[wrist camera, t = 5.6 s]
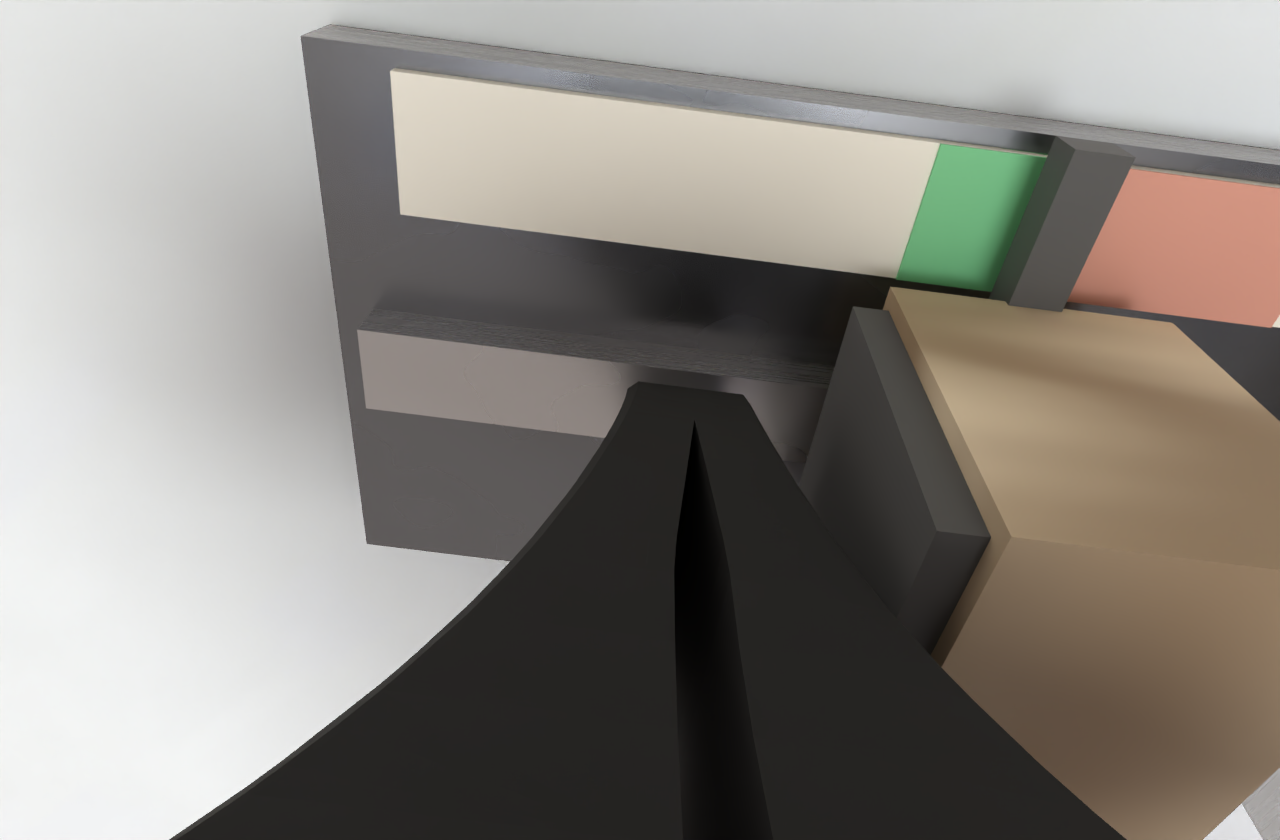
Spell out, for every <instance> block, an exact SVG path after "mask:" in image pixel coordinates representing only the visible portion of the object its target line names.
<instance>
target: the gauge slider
mask: <svg viewBox="0 0 1280 840" xmlns="http://www.w3.org/2000/svg"><path fill="white" fill-rule="evenodd" d="M1135 158H1136V157H1134V156H1133V155H1131V154H1130V153H1128V152H1126V151H1125V150H1123V149H1121V148H1120V147H1118V146H1117V145H1115V144H1113V143H1108V142H1100V141H1092V140H1085V139H1077V138H1070V137H1062V136H1055V139H1054V141H1053V144H1052V146H1051V149H1050V151H1049V153H1048V156H1047V158H1046V161H1045V163H1044V166H1043V168H1042V170H1041V173H1040V175H1039V178H1038V180H1037V183H1036V185H1035V187H1034V190H1033V192H1032V195H1031V197H1030V200H1029V202H1028V204H1027V207H1026V209H1025V212H1024V214H1023V217H1022V219H1021V221H1020V224H1019V226H1018V229H1017V231H1016V234H1015V236H1014V238H1013V241H1012V243H1011V246H1010V248H1009V251H1008V253H1007V255H1006V258H1005V260H1004V263H1003V265H1002V268H1001V270H1000V272H999V275H998V277H997V280H996V282H995V285H994V287H993V289H992V292H991V294H990V297H989V299H983V298H976V297H968V296H960V295H952V294H944V293H937V292H929V291H921V290H913V289H905V288H898V287H890V289H889V292H888V295H887V298H886V301H885V304H884V307H883V310H879V309H871V308H863V307H855V306H853V308H852V311H851V314H850V318H849V321H848V324H847V328H846V331H845V334H844V338H843V341H842V344H841V348H840V351H839V354H838V358H837V361H836V364H835V367H834V371H833V374H832V377H831V381H830V384H829V387H828V391H827V394H826V397H825V401H824V404H823V407H822V411H821V414H820V417H819V421H818V424H817V427H816V431H815V434H814V437H813V441H812V444H811V447H810V451H809V454H808V457H807V460H806V464H805V467H804V470H803V474H802V477H801V480H800V484H799V488H800V489H801V491H802V492H803V494H804V495H805V497H806V498H807V500H808V501H809V503H810V504H811V506H812V507H813V509H814V510H815V512H816V513H817V515H818V516H819V518H820V519H821V521H822V522H823V524H824V525H825V526H826V528H827V529H828V531H829V532H830V533H831V535H832V536H833V538H834V539H835V540H836V542H837V543H838V545H839V546H840V547H841V549H842V550H843V551H844V553H845V554H846V555H847V557H848V558H849V559H850V561H851V562H852V563H853V565H854V566H855V567H856V568H857V570H858V571H859V572H860V574H861V575H862V576H863V578H864V579H865V580H866V582H867V583H868V584H869V585H870V587H871V588H872V589H873V590H874V592H875V593H876V594H877V595H878V597H879V598H880V599H881V600H882V602H883V603H884V604H885V605H886V606H887V608H888V609H889V610H890V611H891V612H892V613H893V615H894V616H895V617H896V618H897V619H898V620H899V621H900V622H901V623H902V625H903V626H904V627H905V628H906V629H907V630H908V631H909V632H910V633H911V634H912V636H913V637H914V638H915V639H916V640H917V641H918V642H919V643H920V644H921V646H922V647H923V648H924V649H925V650H926V651H927V652H928V653H929V654H930V656H931V657H932V658H933V659H934V660H935V661H936V662H937V663H938V664H939V665H940V666H941V668H942V669H943V670H944V671H945V672H946V673H947V674H948V675H949V676H950V677H951V678H952V679H953V680H954V681H955V682H956V683H957V684H958V685H959V686H960V687H961V688H962V689H963V690H964V691H965V692H966V693H967V694H968V695H969V696H970V697H971V698H972V699H973V700H974V701H975V702H976V703H977V704H978V705H979V706H980V707H981V708H982V709H983V710H984V711H985V712H986V713H987V714H988V715H989V716H990V717H992V718H993V719H994V720H995V721H996V722H997V723H998V724H999V725H1000V726H1001V727H1002V728H1003V729H1004V730H1005V731H1006V732H1007V733H1008V734H1009V735H1010V736H1011V737H1012V738H1013V739H1015V740H1016V741H1017V742H1018V743H1019V744H1020V745H1021V746H1022V747H1023V748H1024V749H1025V750H1026V751H1027V752H1028V753H1029V754H1030V755H1031V756H1032V757H1033V758H1034V759H1035V760H1036V761H1038V762H1039V763H1040V764H1041V765H1042V766H1043V767H1044V768H1045V769H1046V770H1047V771H1049V772H1050V773H1051V774H1052V775H1053V776H1054V777H1055V778H1056V779H1058V780H1059V781H1060V782H1061V783H1062V784H1063V785H1064V786H1065V787H1067V788H1068V789H1069V790H1070V791H1071V792H1072V793H1073V794H1074V795H1076V796H1077V797H1078V798H1079V799H1080V800H1081V801H1082V802H1083V803H1085V804H1086V805H1087V806H1088V807H1089V808H1090V809H1091V810H1092V811H1094V812H1095V813H1096V814H1097V815H1098V816H1099V817H1101V818H1102V819H1103V820H1104V821H1105V822H1107V823H1108V824H1109V825H1110V826H1111V827H1112V828H1114V829H1115V830H1116V831H1117V832H1118V833H1120V834H1121V835H1122V836H1123V837H1124V838H1126V839H1127V840H1203V839H1204V838H1205V837H1206V836H1207V835H1208V834H1209V833H1210V832H1211V831H1212V830H1213V829H1215V828H1216V827H1217V826H1218V825H1219V824H1220V823H1221V822H1222V821H1223V820H1224V819H1225V818H1226V817H1227V816H1228V815H1229V814H1231V813H1232V812H1233V811H1234V810H1235V809H1236V808H1237V807H1238V806H1239V805H1240V804H1241V803H1242V802H1243V801H1244V800H1245V799H1247V798H1248V797H1249V796H1250V795H1251V794H1252V793H1253V792H1254V791H1255V790H1256V789H1257V788H1258V787H1259V786H1260V785H1262V784H1263V783H1264V782H1265V781H1266V780H1267V779H1268V778H1269V777H1270V776H1271V775H1272V774H1273V773H1274V772H1275V771H1276V770H1278V769H1279V768H1280V421H1279V420H1278V419H1276V418H1275V417H1274V416H1273V415H1272V414H1271V413H1270V412H1269V411H1268V410H1267V409H1266V408H1265V407H1263V406H1262V405H1261V404H1260V403H1259V402H1258V401H1257V400H1256V399H1255V398H1254V397H1253V396H1251V395H1250V394H1249V393H1248V392H1247V391H1246V390H1245V389H1244V388H1243V387H1242V386H1241V385H1240V384H1238V383H1237V382H1236V381H1235V380H1234V379H1233V378H1232V377H1231V376H1230V375H1229V374H1228V373H1226V372H1225V371H1224V370H1223V369H1222V368H1221V367H1220V366H1219V365H1218V364H1217V363H1216V362H1215V361H1213V360H1212V359H1211V358H1210V357H1209V356H1208V355H1207V354H1206V353H1205V352H1204V351H1203V350H1202V349H1200V348H1199V347H1198V346H1197V345H1196V344H1195V343H1194V342H1193V341H1192V340H1191V339H1190V338H1188V337H1187V336H1186V335H1185V334H1184V333H1183V332H1182V331H1181V330H1180V329H1179V328H1178V327H1177V326H1175V325H1174V324H1173V323H1170V322H1162V321H1154V320H1147V319H1139V318H1131V317H1123V316H1116V315H1108V314H1100V313H1092V312H1084V311H1077V310H1069V309H1064V306H1065V304H1066V302H1067V300H1068V298H1069V296H1070V294H1071V292H1072V290H1073V288H1074V286H1075V283H1076V281H1077V279H1078V277H1079V275H1080V273H1081V271H1082V269H1083V267H1084V265H1085V263H1086V260H1087V258H1088V256H1089V254H1090V252H1091V250H1092V248H1093V246H1094V244H1095V242H1096V239H1097V237H1098V235H1099V233H1100V231H1101V229H1102V227H1103V225H1104V223H1105V221H1106V219H1107V216H1108V214H1109V212H1110V210H1111V208H1112V206H1113V204H1114V202H1115V200H1116V198H1117V196H1118V193H1119V191H1120V189H1121V187H1122V185H1123V183H1124V181H1125V179H1126V177H1127V175H1128V173H1129V170H1130V168H1131V166H1132V164H1133V162H1134V160H1135Z"/></svg>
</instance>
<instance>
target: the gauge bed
mask: <svg viewBox="0 0 1280 840" xmlns="http://www.w3.org/2000/svg"><path fill="white" fill-rule="evenodd" d="M301 42H302V50H303V57H304V65H305V73H306V80H307V88H308V96H309V103H310V111H311V119H312V126H313V134H314V142H315V149H316V157H317V165H318V173H319V180H320V188H321V196H322V203H323V211H324V219H325V226H326V234H327V242H328V249H329V257H330V265H331V272H332V280H333V288H334V295H335V303H336V311H337V318H338V326H339V334H340V341H341V349H342V357H343V364H344V372H345V380H346V387H347V395H348V403H349V410H350V418H351V426H352V433H353V441H354V449H355V456H356V464H357V472H358V479H359V487H360V495H361V502H362V510H363V518H364V525H365V533H366V541H367V544H373V545H381V546H390V547H398V548H406V549H414V550H422V551H431V552H439V553H447V554H455V555H463V556H472V557H480V558H488V559H496V560H504V561H511V560H512V559H513V558H514V557H515V556H516V555H517V554H518V553H519V551H520V550H521V549H522V548H523V547H524V546H525V545H526V544H527V542H528V541H529V540H530V539H531V538H532V537H533V535H534V534H535V533H536V532H537V530H538V529H539V528H540V527H541V525H542V524H543V523H544V522H545V521H546V519H547V518H548V517H549V516H550V514H551V513H552V512H553V511H554V509H555V508H556V507H557V506H558V504H559V503H560V502H561V501H562V499H563V498H564V497H565V496H566V494H567V493H568V492H569V490H570V489H571V488H572V486H573V485H574V484H575V482H576V481H577V479H578V478H579V476H580V475H581V473H582V472H583V470H584V469H585V467H586V466H587V465H588V463H589V462H590V460H591V459H592V457H593V456H594V454H595V453H596V451H597V450H598V448H599V447H600V445H601V444H602V442H603V440H604V438H605V437H606V435H607V433H608V432H609V430H610V428H611V427H612V425H613V423H614V421H615V419H616V417H617V415H618V413H619V411H620V409H621V407H622V404H623V402H624V399H625V397H626V393H627V389H628V388H629V387H631V386H632V385H634V384H635V383H637V382H638V381H640V382H648V383H656V384H664V385H672V386H680V387H688V388H695V389H703V390H711V391H719V392H727V393H735V394H743V395H744V396H745V398H746V399H747V400H748V402H749V403H750V404H751V406H752V408H753V410H754V412H755V414H756V415H757V417H758V419H759V421H760V423H761V425H762V426H763V428H764V430H765V432H766V433H767V435H768V437H769V439H770V440H771V442H772V444H773V446H774V447H775V449H776V451H777V452H778V454H779V456H780V457H781V459H782V461H783V462H784V464H785V466H786V467H787V469H788V470H789V472H790V474H791V475H792V477H793V478H794V480H795V482H796V483H797V485H798V486H799V484H800V480H801V477H802V474H803V470H804V467H805V464H806V460H807V457H808V454H809V451H810V447H811V444H812V441H813V437H814V434H815V431H816V427H817V424H818V421H819V417H820V414H821V411H822V407H823V404H824V401H825V397H826V394H827V391H828V387H829V384H830V381H831V377H832V374H833V371H834V367H835V364H836V361H837V358H838V354H839V351H840V348H841V344H842V341H843V338H844V334H845V331H846V328H847V324H848V321H849V318H850V314H851V311H852V308H853V306H855V307H863V308H871V309H879V310H883V307H884V304H885V301H886V298H887V295H888V292H889V289H890V287H898V288H905V289H913V290H921V291H929V292H937V293H944V294H952V295H960V296H968V297H976V298H983V299H989V297H990V294H991V292H992V289H993V287H994V285H995V282H996V280H997V277H998V275H999V272H1000V270H1001V268H1002V265H1003V263H1004V260H1005V258H1006V255H1007V253H1008V251H1009V248H1010V246H1011V243H1012V241H1013V238H1014V236H1015V234H1016V231H1017V229H1018V226H1019V224H1020V221H1021V219H1022V217H1023V214H1024V212H1025V209H1026V207H1027V204H1028V202H1029V200H1030V197H1031V195H1032V192H1033V190H1034V187H1035V185H1036V183H1037V180H1038V178H1039V175H1040V173H1041V170H1042V168H1043V166H1044V163H1045V161H1046V158H1047V156H1048V153H1049V151H1050V149H1051V146H1052V144H1053V141H1054V139H1055V136H1062V137H1070V138H1077V139H1085V140H1092V141H1100V142H1108V143H1113V144H1115V145H1117V146H1118V147H1120V148H1121V149H1123V150H1125V151H1126V152H1128V153H1130V154H1131V155H1133V156H1134V157H1136V158H1135V160H1134V162H1133V164H1132V166H1131V168H1130V170H1129V173H1128V175H1127V177H1126V179H1125V181H1124V183H1123V185H1122V187H1121V189H1120V191H1119V193H1118V196H1117V198H1116V200H1115V202H1114V204H1113V206H1112V208H1111V210H1110V212H1109V214H1108V216H1107V219H1106V221H1105V223H1104V225H1103V227H1102V229H1101V231H1100V233H1099V235H1098V237H1097V239H1096V242H1095V244H1094V246H1093V248H1092V250H1091V252H1090V254H1089V256H1088V258H1087V260H1086V263H1085V265H1084V267H1083V269H1082V271H1081V273H1080V275H1079V277H1078V279H1077V281H1076V283H1075V286H1074V288H1073V290H1072V292H1071V294H1070V296H1069V298H1068V300H1067V302H1066V304H1065V306H1064V309H1069V310H1077V311H1084V312H1092V313H1100V314H1108V315H1116V316H1123V317H1131V318H1139V319H1147V320H1154V321H1162V322H1170V323H1173V324H1174V325H1175V326H1177V327H1178V328H1179V329H1180V330H1181V331H1182V332H1183V333H1184V334H1185V335H1186V336H1187V337H1188V338H1190V339H1191V340H1192V341H1193V342H1194V343H1195V344H1196V345H1197V346H1198V347H1199V348H1200V349H1202V350H1203V351H1204V352H1205V353H1206V354H1207V355H1208V356H1209V357H1210V358H1211V359H1212V360H1213V361H1215V362H1216V363H1217V364H1218V365H1219V366H1220V367H1221V368H1222V369H1223V370H1224V371H1225V372H1226V373H1228V374H1229V375H1230V376H1231V377H1232V378H1233V379H1234V380H1235V381H1236V382H1237V383H1238V384H1240V385H1241V386H1242V387H1243V388H1244V389H1245V390H1246V391H1247V392H1248V393H1249V394H1250V395H1251V396H1253V397H1254V398H1255V399H1256V400H1257V401H1258V402H1259V403H1260V404H1261V405H1262V406H1263V407H1265V408H1266V409H1267V410H1268V411H1269V412H1270V413H1271V414H1272V415H1273V416H1274V417H1275V418H1276V419H1278V420H1279V421H1280V150H1273V149H1265V148H1258V147H1250V146H1243V145H1235V144H1228V143H1220V142H1212V141H1205V140H1197V139H1190V138H1182V137H1175V136H1167V135H1160V134H1152V133H1144V132H1137V131H1129V130H1122V129H1114V128H1107V127H1099V126H1092V125H1084V124H1077V123H1069V122H1061V121H1054V120H1046V119H1039V118H1031V117H1024V116H1016V115H1009V114H1001V113H993V112H986V111H978V110H971V109H963V108H956V107H948V106H941V105H933V104H925V103H918V102H910V101H903V100H895V99H888V98H880V97H873V96H865V95H858V94H850V93H842V92H835V91H827V90H820V89H812V88H805V87H797V86H790V85H782V84H774V83H767V82H759V81H752V80H744V79H737V78H729V77H722V76H714V75H706V74H699V73H691V72H684V71H676V70H669V69H661V68H654V67H646V66H639V65H631V64H623V63H616V62H608V61H601V60H593V59H586V58H578V57H571V56H563V55H555V54H548V53H540V52H533V51H525V50H518V49H510V48H503V47H495V46H487V45H480V44H472V43H465V42H457V41H450V40H442V39H435V38H427V37H420V36H412V35H404V34H397V33H389V32H382V31H374V30H367V29H359V28H352V27H344V26H336V25H327V26H325V27H322V28H320V29H317V30H314V31H312V32H309V33H307V34H304V35H301ZM1242 805H1243V807H1244V808H1245V810H1246V812H1247V813H1248V815H1249V817H1250V818H1251V820H1252V822H1253V823H1254V825H1255V827H1256V828H1257V830H1258V832H1259V833H1260V835H1261V837H1262V839H1263V840H1280V768H1279V769H1278V770H1276V771H1275V772H1274V773H1273V774H1272V775H1271V776H1270V777H1269V778H1268V779H1267V780H1266V781H1265V782H1264V783H1263V784H1262V785H1260V786H1259V787H1258V788H1257V789H1256V790H1255V791H1254V792H1253V793H1252V794H1251V795H1250V796H1249V797H1248V798H1247V799H1245V800H1244V801H1243V802H1242Z"/></svg>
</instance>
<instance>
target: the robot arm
mask: <svg viewBox="0 0 1280 840" xmlns="http://www.w3.org/2000/svg"><path fill="white" fill-rule="evenodd" d="M170 840H1127V839H1126V838H1124V837H1123V836H1122V835H1121V834H1120V833H1118V832H1117V831H1116V830H1115V829H1114V828H1112V827H1111V826H1110V825H1109V824H1108V823H1107V822H1105V821H1104V820H1103V819H1102V818H1101V817H1099V816H1098V815H1097V814H1096V813H1095V812H1094V811H1092V810H1091V809H1090V808H1089V807H1088V806H1087V805H1086V804H1085V803H1083V802H1082V801H1081V800H1080V799H1079V798H1078V797H1077V796H1076V795H1074V794H1073V793H1072V792H1071V791H1070V790H1069V789H1068V788H1067V787H1065V786H1064V785H1063V784H1062V783H1061V782H1060V781H1059V780H1058V779H1056V778H1055V777H1054V776H1053V775H1052V774H1051V773H1050V772H1049V771H1047V770H1046V769H1045V768H1044V767H1043V766H1042V765H1041V764H1040V763H1039V762H1038V761H1036V760H1035V759H1034V758H1033V757H1032V756H1031V755H1030V754H1029V753H1028V752H1027V751H1026V750H1025V749H1024V748H1023V747H1022V746H1021V745H1020V744H1019V743H1018V742H1017V741H1016V740H1015V739H1013V738H1012V737H1011V736H1010V735H1009V734H1008V733H1007V732H1006V731H1005V730H1004V729H1003V728H1002V727H1001V726H1000V725H999V724H998V723H997V722H996V721H995V720H994V719H993V718H992V717H990V716H989V715H988V714H987V713H986V712H985V711H984V710H983V709H982V708H981V707H980V706H979V705H978V704H977V703H976V702H975V701H974V700H973V699H972V698H971V697H970V696H969V695H968V694H967V693H966V692H965V691H964V690H963V689H962V688H961V687H960V686H959V685H958V684H957V683H956V682H955V681H954V680H953V679H952V678H951V677H950V676H949V675H948V674H947V673H946V672H945V671H944V670H943V669H942V668H941V666H940V665H939V664H938V663H937V662H936V661H935V660H934V659H933V658H932V657H931V656H930V654H929V653H928V652H927V651H926V650H925V649H924V648H923V647H922V646H921V644H920V643H919V642H918V641H917V640H916V639H915V638H914V637H913V636H912V634H911V633H910V632H909V631H908V630H907V629H906V628H905V627H904V626H903V625H902V623H901V622H900V621H899V620H898V619H897V618H896V617H895V616H894V615H893V613H892V612H891V611H890V610H889V609H888V608H887V606H886V605H885V604H884V603H883V602H882V600H881V599H880V598H879V597H878V595H877V594H876V593H875V592H874V590H873V589H872V588H871V587H870V585H869V584H868V583H867V582H866V580H865V579H864V578H863V576H862V575H861V574H860V572H859V571H858V570H857V568H856V567H855V566H854V565H853V563H852V562H851V561H850V559H849V558H848V557H847V555H846V554H845V553H844V551H843V550H842V549H841V547H840V546H839V545H838V543H837V542H836V540H835V539H834V538H833V536H832V535H831V533H830V532H829V531H828V529H827V528H826V526H825V525H824V524H823V522H822V521H821V519H820V518H819V516H818V515H817V513H816V512H815V510H814V509H813V507H812V506H811V504H810V503H809V501H808V500H807V498H806V497H805V495H804V494H803V492H802V491H801V489H800V488H799V486H798V485H797V483H796V482H795V480H794V478H793V477H792V475H791V474H790V472H789V470H788V469H787V467H786V466H785V464H784V462H783V461H782V459H781V457H780V456H779V454H778V452H777V451H776V449H775V447H774V446H773V444H772V442H771V440H770V439H769V437H768V435H767V433H766V432H765V430H764V428H763V426H762V425H761V423H760V421H759V419H758V417H757V415H756V414H755V412H754V410H753V408H752V406H751V404H750V403H749V402H748V400H747V399H746V398H745V396H744V395H743V394H735V393H727V392H719V391H711V390H703V389H695V388H688V387H680V386H672V385H664V384H656V383H648V382H640V381H638V382H637V383H635V384H634V385H632V386H631V387H629V388H628V389H627V393H626V397H625V399H624V402H623V404H622V407H621V409H620V411H619V413H618V415H617V417H616V419H615V421H614V423H613V425H612V427H611V428H610V430H609V432H608V433H607V435H606V437H605V438H604V440H603V442H602V444H601V445H600V447H599V448H598V450H597V451H596V453H595V454H594V456H593V457H592V459H591V460H590V462H589V463H588V465H587V466H586V467H585V469H584V470H583V472H582V473H581V475H580V476H579V478H578V479H577V481H576V482H575V484H574V485H573V486H572V488H571V489H570V490H569V492H568V493H567V494H566V496H565V497H564V498H563V499H562V501H561V502H560V503H559V504H558V506H557V507H556V508H555V509H554V511H553V512H552V513H551V514H550V516H549V517H548V518H547V519H546V521H545V522H544V523H543V524H542V525H541V527H540V528H539V529H538V530H537V532H536V533H535V534H534V535H533V537H532V538H531V539H530V540H529V541H528V542H527V544H526V545H525V546H524V547H523V548H522V549H521V550H520V551H519V553H518V554H517V555H516V556H515V557H514V558H513V559H512V560H511V561H510V563H509V564H508V565H507V566H506V567H505V568H504V569H503V570H502V571H501V572H500V573H499V574H498V575H497V576H496V577H495V578H494V579H493V580H492V581H491V583H490V584H489V585H488V586H487V587H486V588H485V589H484V590H483V591H482V592H481V593H480V594H479V595H478V596H477V597H476V598H475V599H474V600H473V601H472V602H471V603H470V604H469V605H468V606H467V607H466V608H465V609H464V610H462V611H461V612H460V613H459V614H458V615H457V616H456V617H455V618H454V619H453V620H452V621H451V622H450V623H448V624H447V625H446V626H445V627H444V628H443V629H442V630H441V631H440V632H439V633H438V634H437V635H435V636H434V637H433V638H432V639H431V640H430V641H429V642H428V643H427V644H426V645H425V646H424V647H422V648H421V649H420V650H419V651H418V652H417V653H416V654H415V655H414V656H412V657H411V658H410V659H409V660H408V661H407V662H406V663H404V664H403V665H402V666H401V667H400V668H399V669H397V670H396V671H395V672H394V673H393V674H392V675H390V676H389V677H388V678H387V679H386V680H384V681H383V682H382V683H381V684H380V685H378V686H377V687H376V688H375V689H373V690H372V691H371V692H370V693H368V694H367V695H366V696H364V697H363V698H362V699H361V700H359V701H358V702H357V703H356V704H354V705H353V706H352V707H350V708H349V709H348V710H347V711H345V712H344V713H343V714H341V715H340V716H339V717H338V718H336V719H335V720H334V721H332V722H331V723H330V724H329V725H327V726H326V727H325V728H324V729H322V730H321V731H320V732H318V733H317V734H316V735H315V736H313V737H312V738H311V739H309V740H308V741H307V742H306V743H304V744H303V745H302V746H301V747H299V748H298V749H297V750H295V751H294V752H293V753H292V754H290V755H289V756H288V757H286V758H285V759H284V760H283V761H281V762H280V763H279V764H277V765H276V766H274V767H273V768H272V769H270V770H269V771H268V772H266V773H265V774H264V775H262V776H261V777H259V778H258V779H257V780H255V781H254V782H253V783H251V784H250V785H248V786H247V787H246V788H244V789H243V790H241V791H240V792H238V793H237V794H235V795H234V796H232V797H231V798H230V799H228V800H227V801H225V802H224V803H222V804H221V805H219V806H218V807H216V808H215V809H213V810H212V811H211V812H209V813H208V814H206V815H205V816H203V817H202V818H200V819H199V820H197V821H196V822H194V823H193V824H191V825H190V826H189V827H187V828H186V829H184V830H183V831H181V832H180V833H178V834H177V835H175V836H174V837H172V838H171V839H170Z"/></svg>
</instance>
